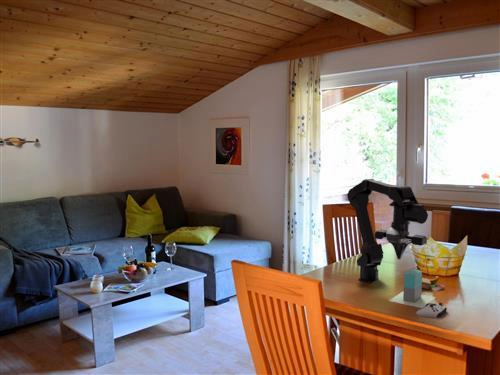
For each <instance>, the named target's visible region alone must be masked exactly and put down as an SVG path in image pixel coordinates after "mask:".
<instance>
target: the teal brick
mask: <svg viewBox="0 0 500 375" xmlns="http://www.w3.org/2000/svg"><path fill="white" fill-rule="evenodd" d="M422 278H423V271H422V270H419V269H413V268H411V269H409V270H407V271H406V272H404V273H403V288H404V287H407V288H412V289H416V288H417V287H419V286H420V285H421V284H422Z"/></svg>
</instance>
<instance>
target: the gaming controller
mask: <svg viewBox="0 0 500 375" xmlns="http://www.w3.org/2000/svg"><path fill="white" fill-rule="evenodd" d="M447 310H448V307H446V305H444V304H443V303H442V302H438V303H435V302H430V303H427V304H426V306H425V307H423V308H419V310H417V311H416V312H415V314H416V315H417V316H420V317H428V318H429V317H430V318H437V319H438V318H441V316H442V315H443V313H447Z"/></svg>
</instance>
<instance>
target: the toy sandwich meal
mask: <svg viewBox="0 0 500 375" xmlns="http://www.w3.org/2000/svg"><path fill="white" fill-rule="evenodd" d="M439 279H440V278H439V277H436V278H431V279H429V278H424V277H422V292H424V291H426V293H427V292H429V293H433V292H435V293H438V292H439V291H444V290H445V289H446V285H445V284H439V283H438V281H439ZM430 290H432V291H430Z"/></svg>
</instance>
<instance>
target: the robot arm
mask: <svg viewBox="0 0 500 375" xmlns="http://www.w3.org/2000/svg"><path fill="white" fill-rule="evenodd" d="M373 192H375V193H379V194H382V195H385V196H387V197H388V198H389V199H390V200H391V201H392V202H390V203H389V206H390V207H393V211H392V212H393V213H392V215H393V217H392V221H391V225H390V227H389V228H388V229H378V230H376V231H375V232H373V227H372V222H371V219H370V218H371V217H370V215H369V211H368V205H369V201H370V197H369V196H371V194H372V193H373ZM347 199H348V202H349V204H350V206H351V207H352V208H353V210H355V214H356V215H355V216H356V219H357V224H358V227H359V228H358V229H359V232H360V236H361V241H362V245H361V249H360V256H359V257H358V258H357V259H356V265H357V267H359V278H358V281H362V282H366V283H374V282H376V281H377V280H379V269H378V266H381V264H382V261H383V259H384V250H383V246H382V243H378V242H377V241H376V240H383V239H384V238H386V241H387V242H388V243H389V244H390V245H391V246H392V247H393V249H394V252H395V255H396V259H397V260H401V259H402V257H403V255H404V253H405V252H406V251H405V250H406V249H407V247H408V246H409V245H411V244H412V245H413V246H419V247H421V246H424V245H426V244H427V243H428V237H427V236H426V235H423V234H422V235H421V234H414V235H413V236H412V235H411V236H410V231H409V226H410V225H411V222H412V223H415V224H420V225H423V224H425V223H426V221H427V220H428V217H429V214H428V211H427V209H426V208H425V204H419V201H418V200H417V198H416V196H415V193H414V192H413V190H412V187H410V186H409V185H392V184H389V183H386V182H382V181H379V180H375V179H373V178H367V179H366V178H365V179H363V180H362V181H361V182H359V183H358V184H356V185H354V186H353V187H352V188H350V189H349V190H348V192H347Z"/></svg>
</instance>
